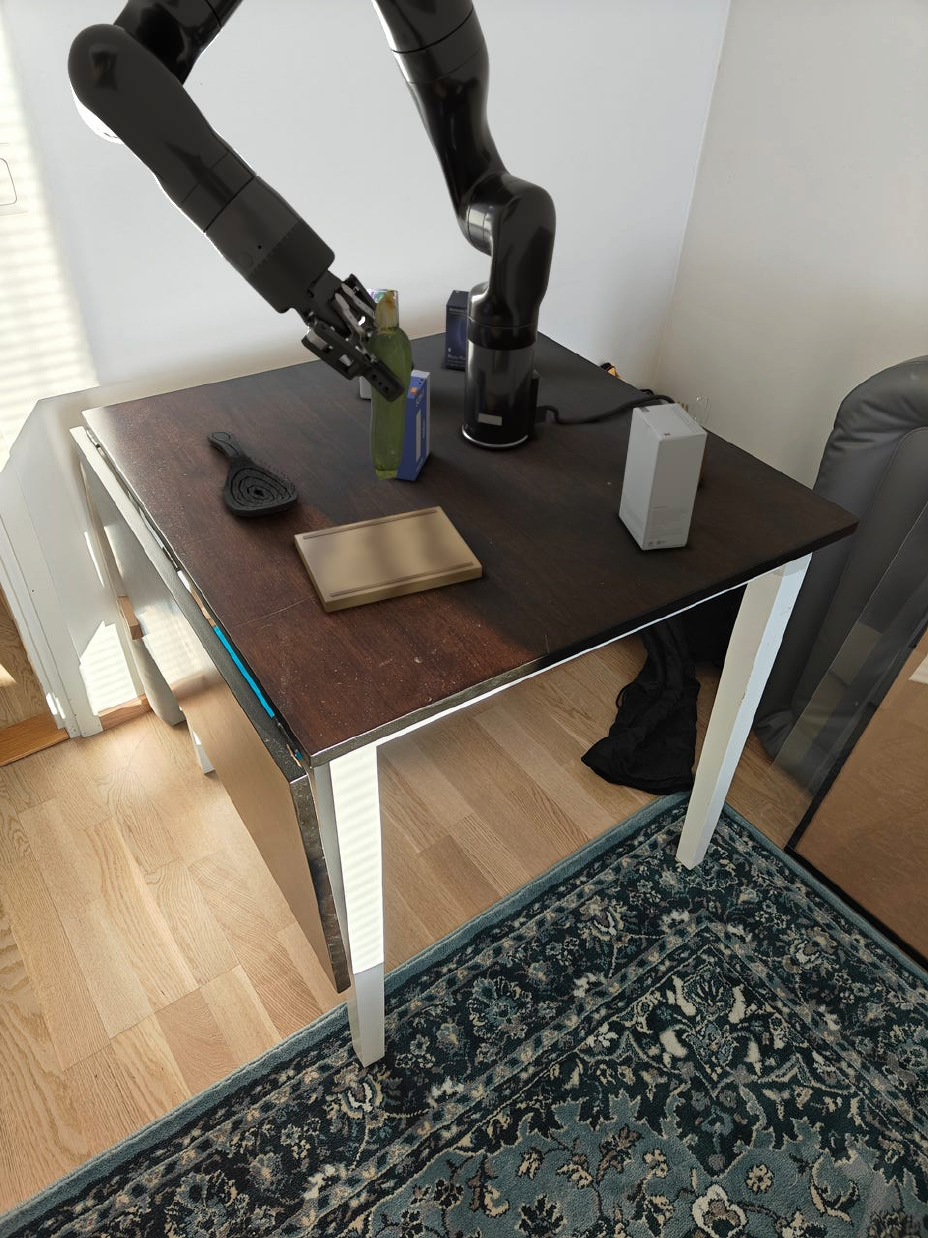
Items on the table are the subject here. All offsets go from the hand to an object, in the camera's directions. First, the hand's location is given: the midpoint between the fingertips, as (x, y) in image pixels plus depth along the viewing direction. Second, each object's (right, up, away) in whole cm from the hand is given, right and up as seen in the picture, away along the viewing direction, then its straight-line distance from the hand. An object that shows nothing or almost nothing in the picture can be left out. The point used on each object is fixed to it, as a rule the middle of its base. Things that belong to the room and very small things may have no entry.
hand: (403, 383), depth 85 cm
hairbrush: (-22, -5, +27) cm, 35 cm away
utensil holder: (+34, -5, +31) cm, 46 cm away
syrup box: (-7, +11, +47) cm, 49 cm away
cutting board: (-3, -16, +14) cm, 22 cm away
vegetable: (-2, -8, +7) cm, 11 cm away
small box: (+8, +18, +55) cm, 59 cm away
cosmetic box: (+29, -12, +21) cm, 38 cm away
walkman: (-1, -3, +31) cm, 31 cm away
